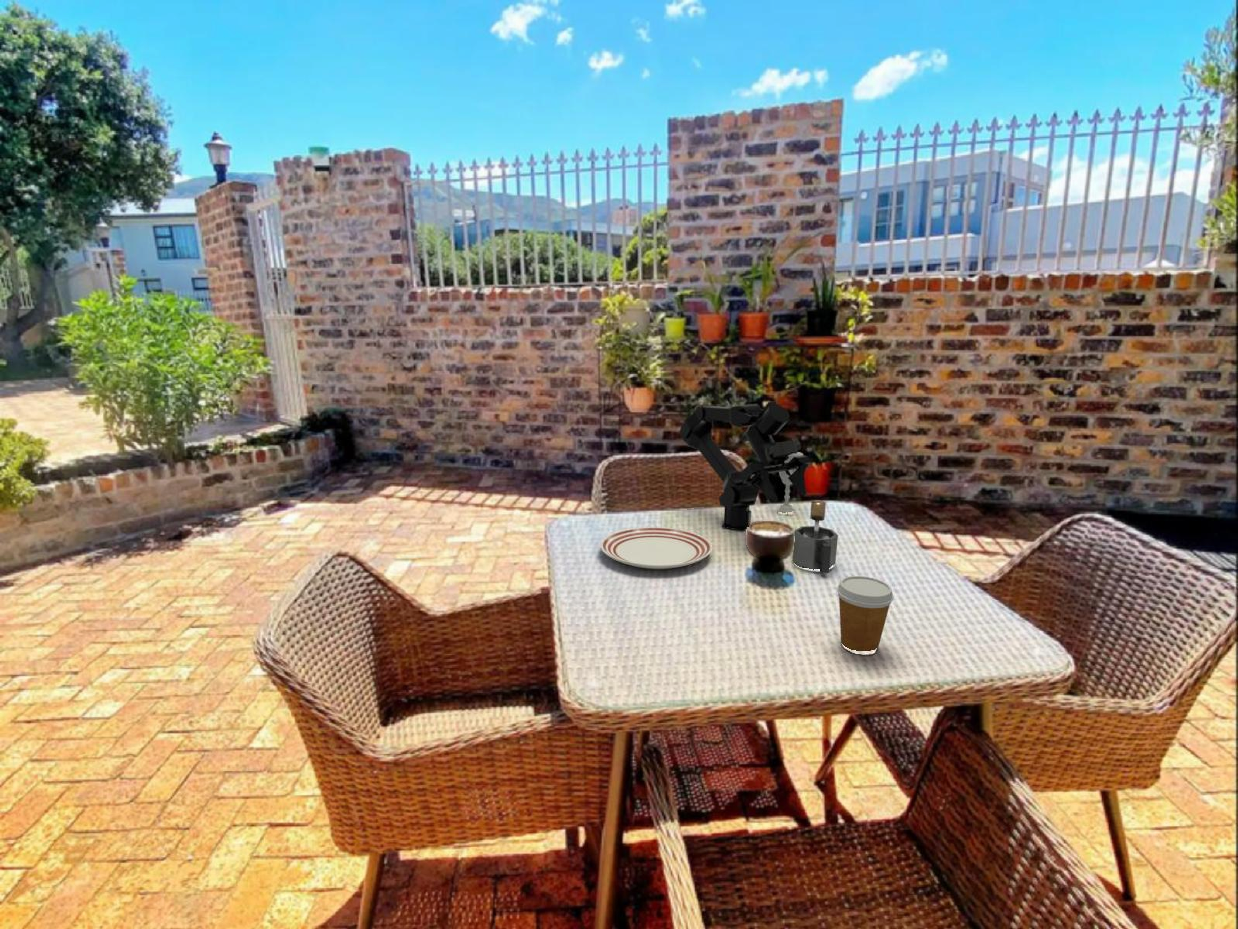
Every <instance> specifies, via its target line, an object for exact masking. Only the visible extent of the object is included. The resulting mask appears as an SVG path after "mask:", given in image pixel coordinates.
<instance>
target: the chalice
mask: <svg viewBox="0 0 1238 929" xmlns="http://www.w3.org/2000/svg"><path fill="white" fill-rule="evenodd" d="M797 452H798V453H796V454H795V453H794V454H791V455H788V456H789V458H788V459H787V460H785V461H784V462H785V463H788V462H789V461H790V460H791V459H792V458H793V457H796V456H803V455H804V453H802V452H799V451H797ZM778 473H779V477H780V479H781V482H782V484H784V485H785V490H784V492H785V494H784V497H783V498H784V500H785V501H784V502H783V503H782V504H783V505H782V504H781V505H779V508H778V510H777V511H778V512H782V513H786V512H787V513H788V512H792V511H793V510H794V507H793V506H792V504H790V502H789V500H790V498H791V496H790V493H791V490H790V485H791V486H792V485H793V484H792V483H791V481H790V480H789V479H788V477H789V475H787V474H786V472H785V471H782V472H778Z"/></svg>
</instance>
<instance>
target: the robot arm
mask: <svg viewBox="0 0 1238 929" xmlns="http://www.w3.org/2000/svg"><path fill="white" fill-rule="evenodd" d="M790 417H791V416H790V413H789V411H788V410H787V409H786V408H784V407H783V406H781V405H780V404H777V403H776V401H768V402H767V403H766V404H765V407H764V408H761V405H759V404H758V403H753V404H752V403H751V404H741V405H734V406H719V405H717V406H716V405H713V404H709V405H707V404H706V405H700V406H698V407H696V409H695V411H694V412H693V413H692V414H691V415H690V416H688V417H687V418H686V419H685V420H684V422H683V424H682V425H681V427H680V429H679V436H680V437H681V440H682V441H683V442H684V443H685V444H686V445H688V446H689V447H691V448H693V449H696V450H698V451H699V453H700V454H701V455H702V457H704V459H705V460H706V461H707V463H708V464H709V465H710V467H711V468H712V469H713V471H714V472H715V473H716V474H717V476H718V477H719V478H720V479H721V482H723V492H722V493H721V494H720V496H719V497H718V501H719V505H720V506H723V509H724V511H723V512H724V514H723V524H722V525H721V528H723V527H728V528H727V529H729V528H733V529H732V530H735V529H737V530H736V531H742V532H744V531H746V530H747V529H746V527H747V526H748V525H749V524H750V523H751V522H752V521H751V520H752V510H751V509H750V506H755V505H756V501H757V498H758V496H759V491H760V492H761V493H762V494H763V495H765V496H766V497H768V498H769V499H770V500H771V501H773V502H777V501H778V496H777V494H776V491H775V489H774V488H773V485H772V483H771V480H770V478H769V477H770V476H769V474H773V473H779V472H782V471H785V472H786V474H787V475H789V477H788V479H789V480H790V481H791V483H792V484H791V485H793V486H794V488H795V489H796V490H797V492H798V493H799V494H800V495H802V496H803V497H806V495H807V488H806V480H805V474H806V470H808V469H809V466H810V465H811V464H812V462H811V460H810V458H809V456H807V455H804V454H803V456H796V457H793V458H792V459H791V460H790V461H789V462H788V463H785V462H784V461H785V460H787V459H788V458H789V456H788V455H791V454H794V453H795V454H796V453H798V452H799V451H800V450H801V448H802V446H801V442H800V441H799V439H798V437H791V438H790V439H789V438H788V439H787V440H785V441H775V440H774V439H773V437H772V436H775V435H777V434H778V433H779V431H780V430H782V428H783V427H784V426H785V425H786V424H787V423H788V422H789V420H790ZM702 420H703V421H702ZM704 420H705V421H704ZM714 421H717V422H718V421H720V422H728V423H729V424H730V425H731V426H734V427H736V428H746V427H748V428H747V430H743V432H742V433H743V434H742V436H741V439H740V440H741V442H748V443H749V445H750V447H751V449H752V452H754V454H753V455H752V459H753V460H757V461H755V462H754V461H753V462H748V464H747V465H746V466H745V467H744V469H742V471H739V470H737V468H736V467H735V466H734V465H733V463H732V462H731V461H730V460H729V458H727V456H726V455H725V453H724V452H723V451H722V450H721V449H720V447H719V446H718V445H717V444H716V443H715V441H714V440H713V429H714V426H715V424H714ZM751 524H752V523H751ZM751 524H750V525H751ZM750 525H749V526H750ZM747 528H748V527H747ZM745 529H746V530H745Z"/></svg>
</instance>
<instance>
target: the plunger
mask: <svg viewBox="0 0 1238 929" xmlns="http://www.w3.org/2000/svg"><path fill="white" fill-rule="evenodd" d="M810 504H811V505H810V516H809V519H810V520H812V521H814V525H813V526H814V537H813V538H814V539H818V531H819V527H820V522H821V521H824V520H825V519H826V518H825V516H826V505H827V503H826V501H824V500H819V499H815V500H811V503H810Z"/></svg>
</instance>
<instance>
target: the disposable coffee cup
mask: <svg viewBox="0 0 1238 929" xmlns="http://www.w3.org/2000/svg"><path fill="white" fill-rule="evenodd" d="M836 592H837V595H838V600H839V601H838V603H839V606H838V607H839V624H840V627H839V628H840V631H839V632H840V644H841V643H842V644H843V645H844V646H845V647H847V648H849V649H851V650H856V651H871V650H875V649H876V648H878V649H879V646H880V643H881V640H882V635H883V632H884V628H885V623H886V620H887V617H888V613H889V609H890V606H891V604H892V602H893V601H894V598H895V595H894V594H893V590H892V586H890V585H889V584H888V583H887V582H885V581H883V580H881V579H878V578H874V577H870V576H865V575H852V576H845V577H843V578H842V579H840V582H839V584H838V585H837V586H836Z"/></svg>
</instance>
